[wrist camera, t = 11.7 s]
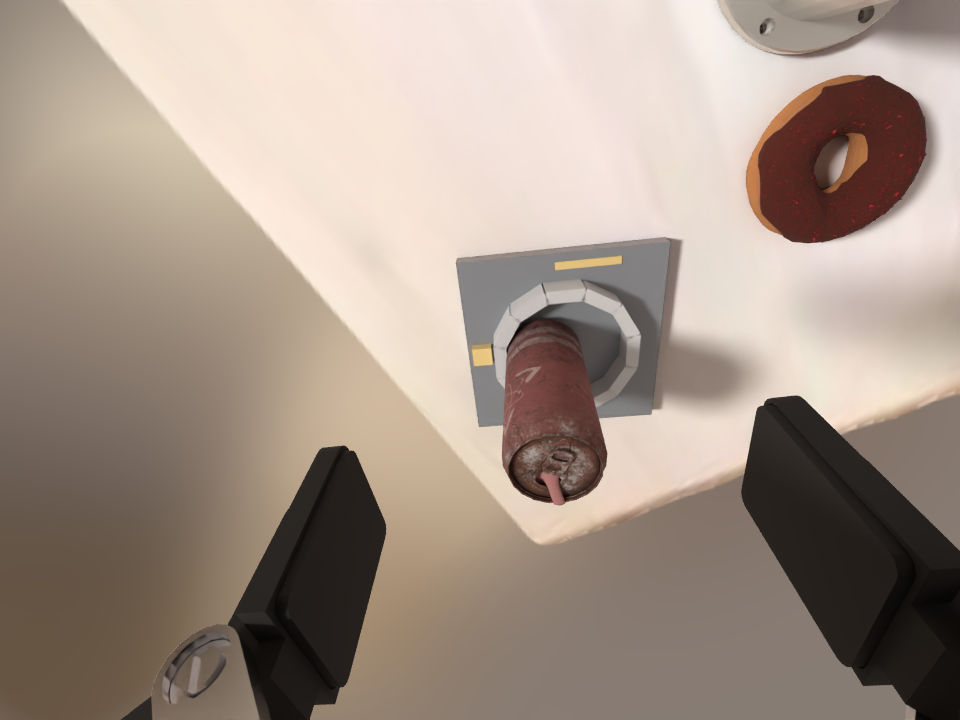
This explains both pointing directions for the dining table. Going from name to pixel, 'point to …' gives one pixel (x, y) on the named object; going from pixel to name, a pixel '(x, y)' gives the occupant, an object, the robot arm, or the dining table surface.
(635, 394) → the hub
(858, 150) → the donut
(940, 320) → the dining table surface
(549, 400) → the can
